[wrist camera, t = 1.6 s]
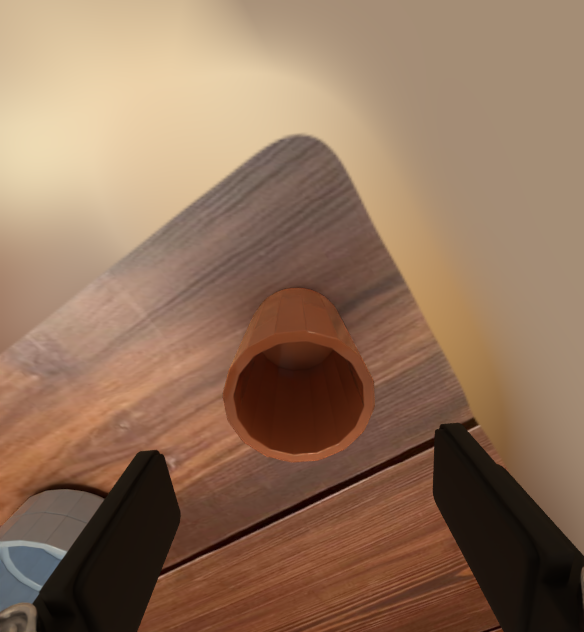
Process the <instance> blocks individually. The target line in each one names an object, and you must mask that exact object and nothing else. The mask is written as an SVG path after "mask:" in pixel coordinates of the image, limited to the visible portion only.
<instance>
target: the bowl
mask: <svg viewBox="0 0 584 632" xmlns="http://www.w3.org/2000/svg"><path fill="white" fill-rule="evenodd" d="M103 501H104V498H102V497H100V496H98V495H95V494H92V493H89V492H85V491H79V490H70V489H59V490H47V491H44V492H41V493H39V494H36V495H34V496H31V497H29V498H28V499H27V500H26V501H25V502H24V503H23V504H22V505H21V506H20V507H19V508H18V509H17V510H16V511H15V512H14V513H13V514H12V515H11V516H10V517H9V518H8V519H7V520H6V521H5V522H4V523H3V524H2V525H1V526H0V611H2V610H4V609H6V608H8V607H9V606H12V605H15V604H18V603H21V602H24V603H31V604H32V603H33V602H34V600H35V599H36V598H37V596H38V595H39V591H40V590H41V588H42V587H43V585H44V584H45V583H46V581H47V580H48V578H49V577H50V575H51V574H52V573H53V571H54V570H55V568H56V567H57V566H58V564H59V563H60V561H61V560H62V559H63V557H64V556H65V554H66V553H67V552H68V550H69V549H70V547H71V546H72V544H73V543H74V542H75V540H76V539H77V537H78V536H79V535H80V533H81V532H82V530H83V529H84V528H85V526H86V525H87V523H88V522H89V521H90V519H91V518H92V516H93V515H94V514H95V512H96V511H97V509H98V508H99V506H100V505H101V504H102V502H103Z"/></svg>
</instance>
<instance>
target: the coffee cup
mask: <svg viewBox="0 0 584 632" xmlns="http://www.w3.org/2000/svg"><path fill="white" fill-rule="evenodd" d="M223 401H224V406H225V410H226V415H227V420H228V422H229V423H230V425H231V426H232V427H233V429H234V430H235V431H236V433H237V434H238V436H239V437H240V438H241V440H242V441H244V443H246V444H247V445H249V446H250V447H252V448H254V449H255V450H257V451H258V452H260V453H261V454H263V455H265V456H267V457H271V458H275V459H280V460H284V461H288V462H304V461H316V460H321V459H324V458H326V457H328V456H331V455H333V454H335V453H338V452H340V451H342V450H344V449H346V448H347V447H348V446H349V445H350V444H351V443H352V442H353V441H354V440H355V439H356V438H357V437H359V436H360V435H361V434H362V433H363V432H364V430H365V428H366V426H367V424H368V421H369V419H370V417H371V414H372V412H373V410H374V407H375V399H374V381H373V378H372V376H371V374H370V372H369V370H368V369H367V367H366V365H365V363H364V361H363V359H362V357H361V355H360V353H359V351H358V349H357V348H356V346H355V344H354V342H353V340H352V338H351V336H350V334H349V332H348V331H347V329H346V327H345V325H344V323H343V321H342V319H341V317H340V315H339V313H338V312H337V310H336V308H335V306H334V305H333V304H332V303H331V302H330V301H329V300H328V299H327V298H326V297H324V296H323V295H322V294H320V293H318V292H316V291H313V290H310V289H306V288H288V289H284V290H280V291H278V292H276V293H274V294H272V295H271V296H269V297H268V298H267V299H265V300H264V301H263V303H262V304H261V305H260V306H259V308H258V309H257V311H256V312H255V313H254V315H253V317H252V320H251V322H250V324H249V326H248V329H247V331H246V333H245V335H244V337H243V340H242V342H241V344H240V346H239V348H238V351H237V353H236V355H235V357H234V359H233V362H232V364H231V366H230V368H229V371H228V374H227V378H226V382H225V387H224V391H223Z"/></svg>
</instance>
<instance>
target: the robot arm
mask: <svg viewBox="0 0 584 632" xmlns="http://www.w3.org/2000/svg"><path fill="white" fill-rule="evenodd" d="M433 496H434V500H435V502H436V504H437V506H438V508H439V510H440V512H441V514H442V516H443V518H444V520H445V522H446V523H447V525H448V527H449V529H450V531H451V533H452V535H453V537H454V539H455V540H456V542H457V544H458V546H459V548H460V550H461V552H462V554H463V556H464V557H465V559H466V561H467V563H468V565H469V567H470V569H471V571H472V573H473V574H474V576H475V578H476V580H477V582H478V584H479V586H480V588H481V590H482V592H483V593H484V595H485V597H486V599H487V601H488V603H489V605H490V607H491V609H492V610H493V612H494V614H495V616H496V618H497V620H498V622H499V624H500V626H501V627H502V629H503V631H504V632H584V556H583V555H582V553H581V552H580V551H579V550H578V549H577V548H576V547H575V546H574V545H573V544H572V542H571V541H570V540H569V539H568V538H567V537H566V536H565V535H564V534H563V532H562V531H561V530H560V529H559V528H558V527H557V526H556V525H555V524H554V522H553V521H552V520H551V519H550V518H549V517H548V516H547V515H546V514H545V512H544V511H543V510H542V509H541V508H540V507H539V506H538V505H537V504H536V503H535V501H534V500H533V499H532V498H531V497H530V496H529V495H528V494H527V492H526V491H525V490H524V489H523V488H522V487H521V486H520V485H519V484H518V483H517V481H516V480H515V479H514V478H513V477H512V476H511V475H510V474H509V472H508V471H507V470H506V469H504V468H503V467H502V466H500V465H498V464H496V463H495V462H494V460H493V459H492V458H491V457H490V456H489V455H488V454H487V453H486V451H485V450H484V449H483V448H482V447H481V446H480V445H479V443H478V442H477V441H476V440H475V439H474V438H473V437H472V436H471V434H470V433H469V432H468V431H467V430H466V429H465V428H464V426H463V425H461V424H460V423H450V424H441V425H440V428H439V429H437V430H436V431H435V444H434V471H433ZM179 523H180V509H179V506H178V502H177V499H176V495H175V492H174V489H173V485H172V482H171V478H170V475H169V471H168V468H167V464H166V461H165V457H164V455H163V454H160V453H159V451H158V450H150V451H140V452H138V453H137V454H136V456H135V457H134V459H133V460H132V461H131V463H130V464H129V466H128V467H127V468H126V470H125V471H124V473H123V474H122V475H121V477H120V478H119V480H118V481H117V483H116V484H115V485H114V487H113V488H112V490H111V491H110V492H109V494H108V495H107V497H106V498H105V499H104V501H103V502H102V504H101V505H100V506H99V508H98V509H97V511H96V512H95V514H94V515H93V516H92V518H91V519H90V521H89V522H88V523H87V525H86V526H85V528H84V529H83V530H82V532H81V533H80V535H79V536H78V537H77V539H76V540H75V542H74V543H73V544H72V546H71V547H70V549H69V550H68V552H67V553H66V554H65V556H64V557H63V559H62V560H61V561H60V563H59V564H58V566H57V567H56V568H55V570H54V571H53V573H52V574H51V575H50V577H49V578H48V580H47V581H46V583H45V584H44V585H43V587H42V588H41V590H40V591H39V595H38V596H37V598H36V599H35V600H34V602H33V603H32V604H31V603H24V602H21V603H18V604H15V605H12V606H9V607H8V608H6V609H4V610H2V611H0V632H137V631H138V628H139V625H140V623H141V620H142V618H143V615H144V613H145V610H146V608H147V605H148V603H149V600H150V597H151V595H152V592H153V590H154V587H155V585H156V582H157V580H158V577H159V574H160V572H161V569H162V567H163V564H164V562H165V559H166V557H167V554H168V552H169V549H170V546H171V544H172V541H173V539H174V536H175V534H176V531H177V529H178V526H179Z"/></svg>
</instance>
